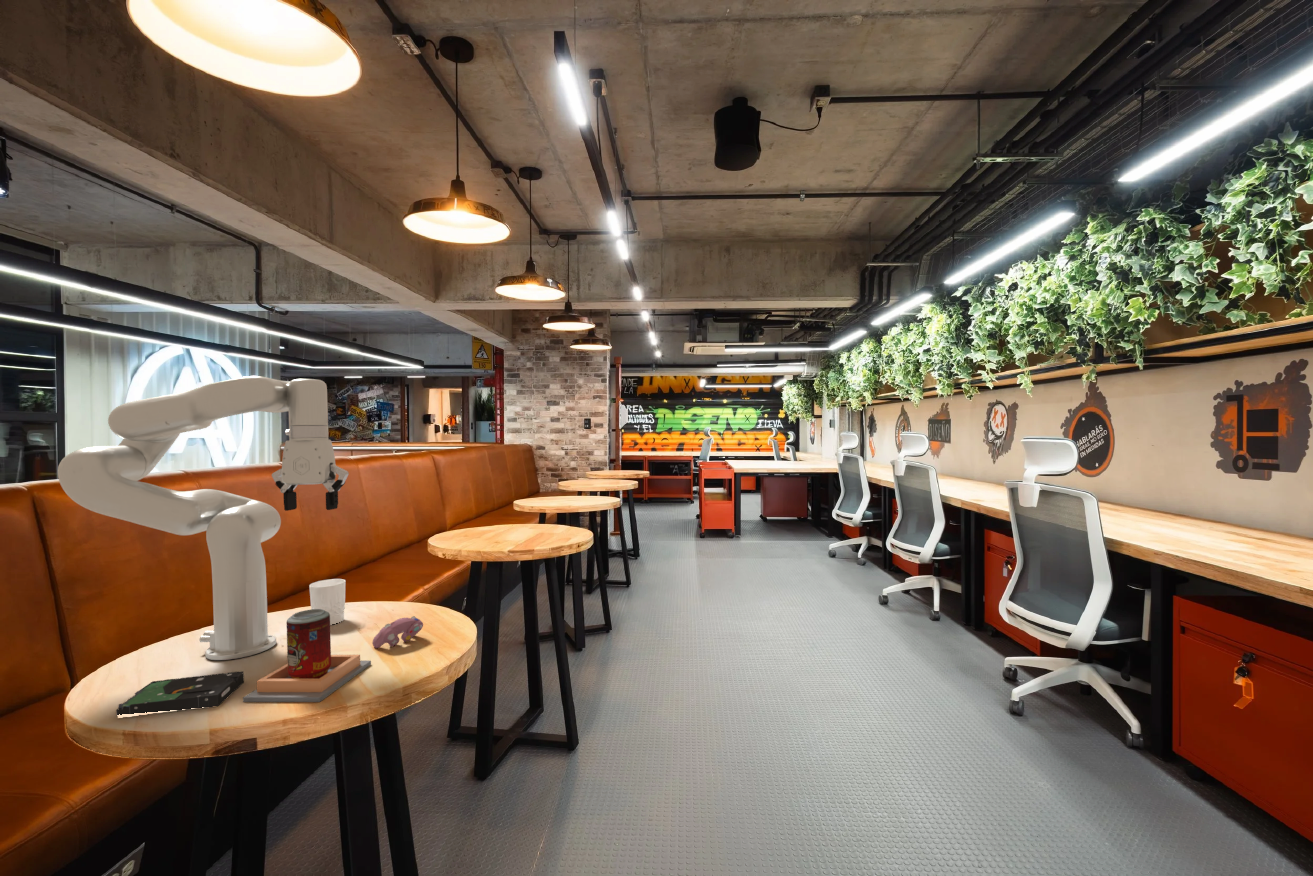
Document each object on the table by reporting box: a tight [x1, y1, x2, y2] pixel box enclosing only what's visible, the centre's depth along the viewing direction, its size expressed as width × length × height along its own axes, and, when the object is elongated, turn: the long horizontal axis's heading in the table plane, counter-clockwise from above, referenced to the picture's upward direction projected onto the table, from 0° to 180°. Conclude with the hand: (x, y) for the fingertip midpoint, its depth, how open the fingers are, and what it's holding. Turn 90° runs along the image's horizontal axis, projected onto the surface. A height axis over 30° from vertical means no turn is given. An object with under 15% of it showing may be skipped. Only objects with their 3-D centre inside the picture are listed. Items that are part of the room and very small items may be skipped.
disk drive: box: [115, 670, 245, 716], centre depth 101 cm, size 10×3×15 cm
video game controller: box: [372, 615, 424, 649], centre depth 126 cm, size 10×5×7 cm, turn 144°
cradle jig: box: [242, 654, 372, 703], centre depth 107 cm, size 14×16×3 cm
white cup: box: [308, 578, 346, 626], centre depth 142 cm, size 8×8×10 cm
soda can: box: [286, 609, 332, 679], centre depth 107 cm, size 7×7×12 cm
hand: (311, 509), depth 127 cm, fingers open, 9 cm apart
